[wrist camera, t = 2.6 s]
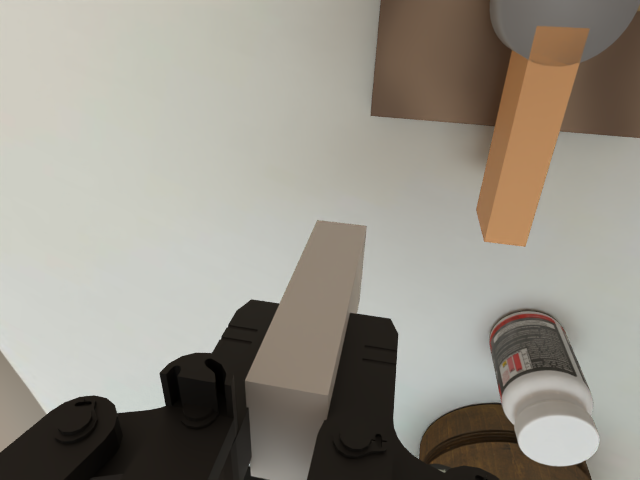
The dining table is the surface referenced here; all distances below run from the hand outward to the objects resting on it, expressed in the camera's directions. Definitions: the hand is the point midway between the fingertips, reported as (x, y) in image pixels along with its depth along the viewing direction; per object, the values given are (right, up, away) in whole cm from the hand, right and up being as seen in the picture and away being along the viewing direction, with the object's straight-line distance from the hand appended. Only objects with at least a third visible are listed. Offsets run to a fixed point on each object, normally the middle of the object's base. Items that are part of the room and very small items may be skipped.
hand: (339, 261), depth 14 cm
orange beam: (+10, +8, +9) cm, 16 cm away
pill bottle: (+16, -7, +23) cm, 29 cm away
